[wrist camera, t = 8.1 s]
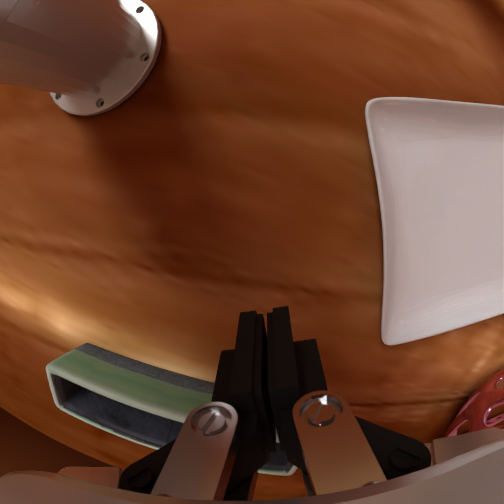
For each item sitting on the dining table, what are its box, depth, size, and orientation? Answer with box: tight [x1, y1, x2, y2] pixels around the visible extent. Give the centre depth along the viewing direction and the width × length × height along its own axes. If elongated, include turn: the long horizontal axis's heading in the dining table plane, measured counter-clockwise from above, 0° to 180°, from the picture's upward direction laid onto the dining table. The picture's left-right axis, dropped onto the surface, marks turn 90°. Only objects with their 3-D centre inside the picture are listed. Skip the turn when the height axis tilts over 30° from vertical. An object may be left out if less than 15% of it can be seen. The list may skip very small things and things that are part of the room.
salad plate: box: [365, 97, 504, 345], centre depth 22 cm, size 21×21×3 cm
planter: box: [46, 343, 298, 476], centre depth 28 cm, size 28×7×7 cm, turn 77°
